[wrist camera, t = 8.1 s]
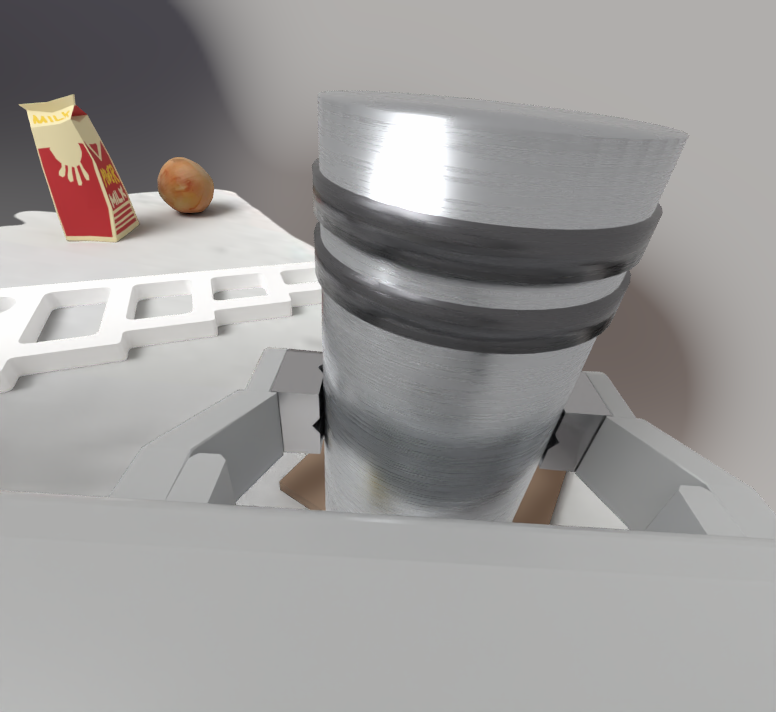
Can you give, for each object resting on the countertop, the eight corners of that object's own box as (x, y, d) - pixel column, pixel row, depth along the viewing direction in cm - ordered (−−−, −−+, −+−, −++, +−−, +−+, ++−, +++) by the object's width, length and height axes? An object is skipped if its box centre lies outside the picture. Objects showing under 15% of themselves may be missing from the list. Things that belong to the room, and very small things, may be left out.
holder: (336, 276, 63) (336, 259, 61) (377, 337, 50) (378, 318, 48) (-34, 313, 47) (-47, 292, 46) (-118, 416, 34) (-140, 392, 32)
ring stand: (280, 489, 30) (276, 464, 29) (391, 382, 42) (393, 358, 40) (509, 642, 23) (523, 620, 22) (567, 462, 35) (579, 438, 33)
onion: (227, 214, 81) (218, 160, 75) (176, 223, 75) (163, 165, 69) (205, 202, 86) (195, 151, 80) (156, 210, 80) (141, 154, 74)
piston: (291, 599, 13) (222, 88, 5) (377, 489, 17) (420, 90, 9) (432, 712, 11) (705, 162, 3) (495, 558, 15) (695, 125, 7)
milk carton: (139, 224, 73) (101, 93, 61) (119, 242, 66) (72, 98, 54) (84, 222, 72) (34, 88, 60) (57, 241, 64) (-5, 92, 53)
